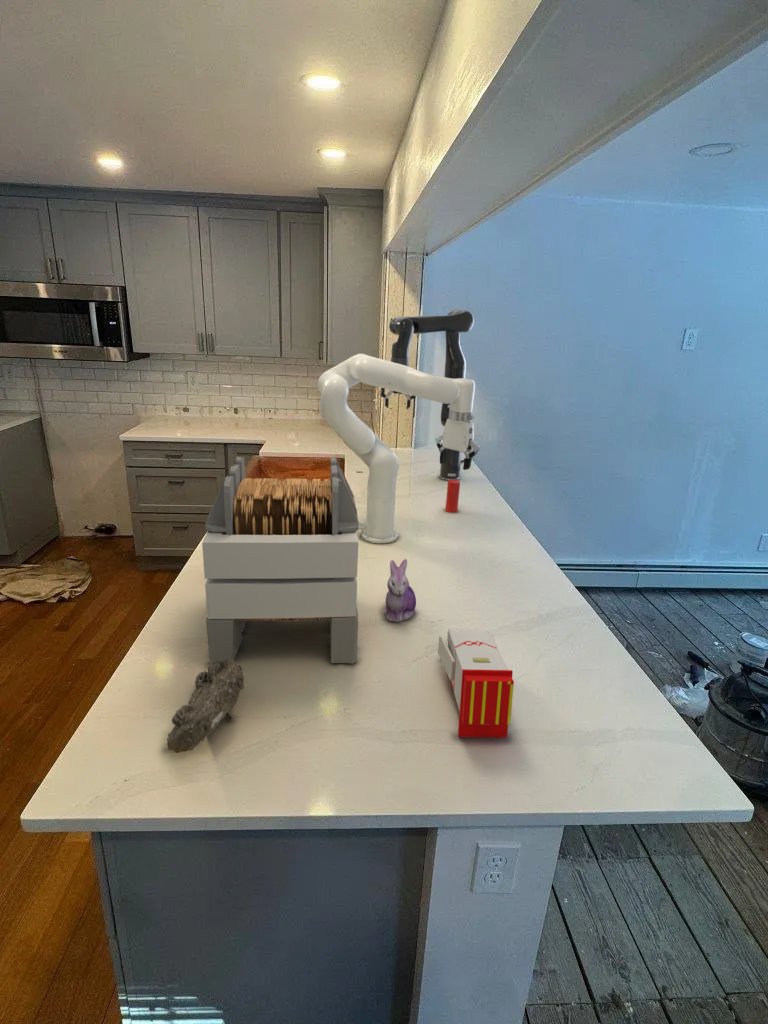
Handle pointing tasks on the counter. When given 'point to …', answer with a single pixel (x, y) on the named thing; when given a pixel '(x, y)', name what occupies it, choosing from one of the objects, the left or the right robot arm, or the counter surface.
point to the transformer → (281, 558)
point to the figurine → (399, 594)
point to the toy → (478, 682)
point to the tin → (452, 496)
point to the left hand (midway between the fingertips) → (454, 466)
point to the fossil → (206, 705)
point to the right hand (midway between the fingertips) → (397, 408)
